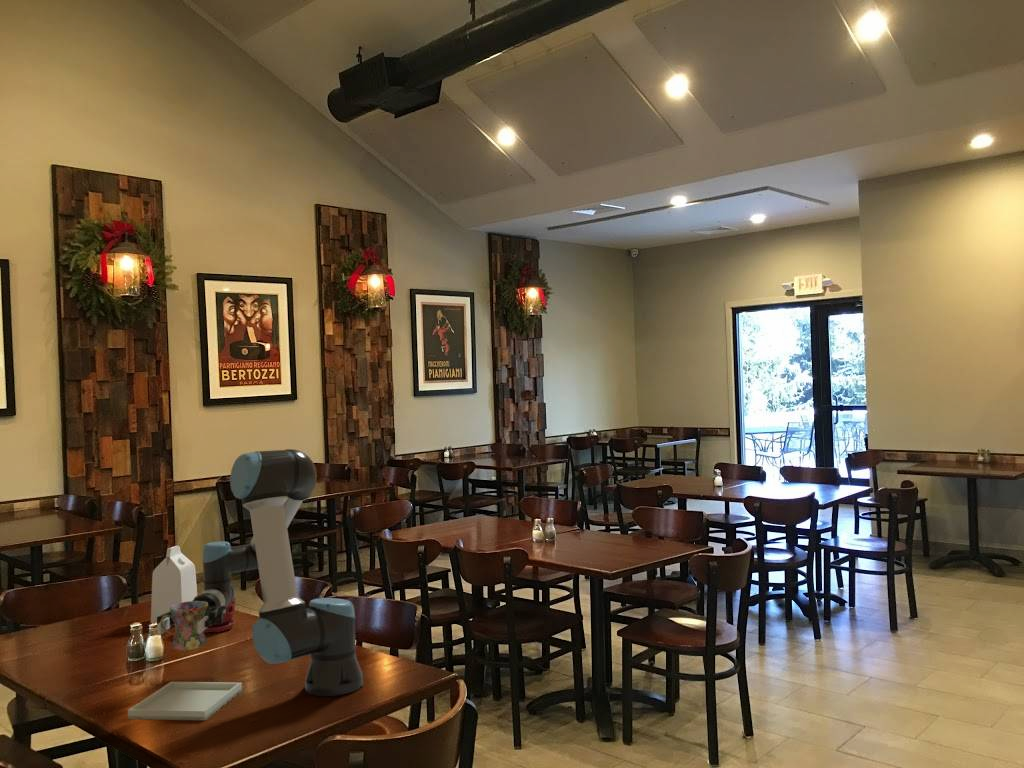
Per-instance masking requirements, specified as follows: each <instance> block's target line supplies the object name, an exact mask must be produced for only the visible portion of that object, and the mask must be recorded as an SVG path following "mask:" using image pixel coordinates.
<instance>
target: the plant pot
mask: <svg viewBox="0 0 1024 768" xmlns="http://www.w3.org/2000/svg"><path fill="white" fill-rule="evenodd" d="M200 594H201V593H199V594H197V596H199V595H200ZM197 596H195V597H194V599H195V598H196V597H197ZM235 609H236V595H235V596H234V599H233V600H232V602H231V604H230V605H229V606H228V607H226V616H224V617H223V621H222V624H221V625H217V623H214V625H213V626H210V627H207V628H206V629H205V630H204V633H208V632H213V633H220V632H224V630H225V631H227V629H228V630H229V629H231V628H233V627H234V625H235V622H236V621H235V619H233V617H234V615H235Z"/></svg>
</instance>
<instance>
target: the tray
mask: <svg viewBox="0 0 1024 768" xmlns="http://www.w3.org/2000/svg"><path fill="white" fill-rule="evenodd" d="M242 691H243V683H242V682H234V681H233V682H230V681H229V682H226V681H225V682H221V681H217V682H216V681H213V682H212V681H211V682H210V681H170V682H169V683H167V684H165V685H163V686H162V687H161V688H159V689H157V690H156V691H155V692H153V693H151V694H150V695H148V696H147V697H146V698H143V700H141V701H139V702H138V703H137V704H135V705H133V706H132V707H130V708H128V709H127V719H128V720H161V721H162V720H164V721H165V720H167V721H168V720H169V721H170V720H171V721H206V720H208V719H209V718H210V717H212V716H213V715H214V714H215V713H217V712H218V711H219V710H220V709H222V708H223V707H224V706H225V705H227V704H228V703H229V702H230V701H231V700H232V698H233V697H234V698H236V697H237V696H238V695H239V694H240V693H241V692H242ZM238 693H239V694H238ZM237 694H238V695H237ZM234 698H233V699H234ZM228 701H229V702H228ZM227 702H228V703H227ZM223 705H224V706H223ZM222 706H223V707H222ZM221 707H222V708H221ZM216 711H217V712H216ZM211 715H212V716H211Z"/></svg>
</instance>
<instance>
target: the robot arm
mask: <svg viewBox="0 0 1024 768" xmlns="http://www.w3.org/2000/svg"><path fill="white" fill-rule="evenodd" d="M317 473H318V472H317V468H316V466H315V464H314V462H313V460H312V459H311V457H309V455H307V454H306V453H304V452H303V451H301V450H297V449H291V448H288V449H287V448H286V449H277V450H262V451H261V450H259V451H251V452H248V453H243V454H240V455H239V456H238V457H237V458H236V459H235V461H234V462H233V465H232V467H231V471H230V480H229V483H230V490H231V492H232V493H233V496H234V497H235V498H236V499H238V500H241V501H242V507H243V508H245V509H246V510H247V511H248V512H249V513H250V521H251V526H252V527H251V529H252V534H253V536H252V539H250V541H249V543H248V544H243V545H237V546H231V544H230V542H228V541H211V542H208V543H206V544H204V546H203V549H202V570H203V571H202V572H203V591H202V592H201V593H199V594H200V595H199V594H198V595H199V596H197V597H196V598H195V599H194V600H193V601H204V602H207V603H208V607H207V609H206V612H205V616H204V618H203V619H201V620H200V621H199V622H198V623H197V627H198V634H201V633H202V632H203V631H204V630H205V629H206V628H207V627H210V626H213V625H214V623H217V625H221V624H222V621H223V617H224V616H226V607H228V606H229V605H230V604H231V602H232V600H233V599H234V596H235V597H236V590H235V587H234V585H233V584H232V574H235V573H240V572H246V571H253V570H258V574H259V581H260V582H259V583H260V588H261V595H262V600H263V604H262V605H261V607H260V609H259V610H258V617H259V618H257V620H255V621H254V623H253V624H252V631H251V636H252V642H253V644H254V647H255V650H256V652H257V654H258V655H259V657H261V659H262V660H263V661H264V662H266V663H268V664H271V665H276V664H280V663H288V662H290V661H293V660H296V659H299V658H303V657H307V656H310V657H311V658H310V663H309V666H308V669H307V673H306V676H305V680H304V687H305V688H304V689H305V692H306V693H308V694H309V695H311V696H316V697H335V696H337V697H338V696H343V695H346V694H350V693H354V692H356V691H357V690H360V689H361V688H362V687H361V686H364V676H363V675H364V674H363V672H362V669H361V667H360V664H359V661H358V658H357V654H356V626H355V625H356V614H355V607H354V606H355V605H354V604H353V603H352V602H351V601H350V600H348V599H344V598H336V597H335V598H334V597H322V598H313V599H311V600H310V601H309V604H308V606H309V607H308V608H307V607H306V602H305V601H304V600H303V599H301V598H300V597H299V595H298V589H297V584H296V576H295V570H294V563H293V557H292V551H291V544H290V538H289V531H288V528H289V526H290V524H291V522H292V520H293V519H294V518H295V516H296V514H297V512H298V511H299V509H300V508H301V505H302V503H303V501H306V500H308V499H309V498H310V497H311V495H312V494H313V491H315V487H316V484H317V477H318V474H317ZM165 615H171V616H173V615H172V613H171V611H169V612H167V613H165V614H163V615H160V616H158V617H157V626H156V627H157V636H162V635H163V634H164V633H166V631H165V630H164V629H163V628H162V627H161V624H160V621H161V619H162V617H164V616H165ZM162 623H163V626H164V628H165V629H166V630H167V631H169V630H170V628H171V627H173V626H172V625H175V622H174V621H173V619H172V618H171V617H166V618H164V619H163V622H162ZM360 687H361V688H360Z"/></svg>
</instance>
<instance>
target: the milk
mask: <svg viewBox="0 0 1024 768" xmlns="http://www.w3.org/2000/svg"><path fill="white" fill-rule="evenodd" d="M166 549H167V550H166V555H165V558H164V559H163V560H162V561H161V562H160V563H159V564H158V565H157V566H156V567H155V568H154V569H153V571H152V577H151V578H152V579H151V580H152V581H151V583H152V584H151V605H150V607H151V608H150V624H151V623H152V622H157V617H158V616H160V615H163V614H165V613H167V612H169V611H170V609H169V608H170V607H171V606H172V605H174V604H178V603H182V602H188V601H193V600H194V597H195V596H197V595H198V586H197V573H196V565H195V564H194V562H193V561H191V560H190V559H189V558H188V556H186V555H185V554H184V553H182V551H181V548H180V545H174V546H172V547H168V548H166Z"/></svg>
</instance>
